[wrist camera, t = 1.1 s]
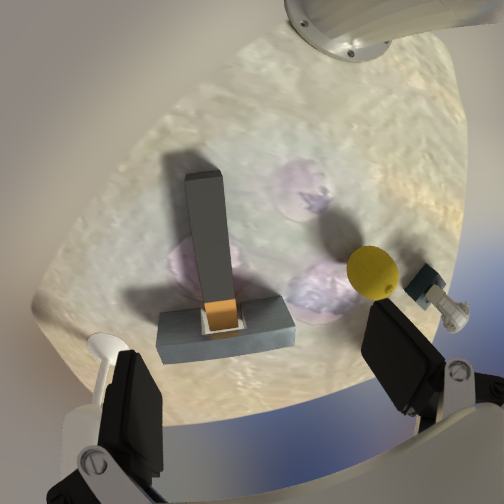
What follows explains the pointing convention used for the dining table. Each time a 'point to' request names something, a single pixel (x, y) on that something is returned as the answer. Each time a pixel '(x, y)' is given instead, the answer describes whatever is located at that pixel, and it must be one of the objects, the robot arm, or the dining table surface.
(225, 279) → the plug
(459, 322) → the watch
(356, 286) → the lemon
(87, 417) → the champagne flute
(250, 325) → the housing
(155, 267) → the dining table surface
